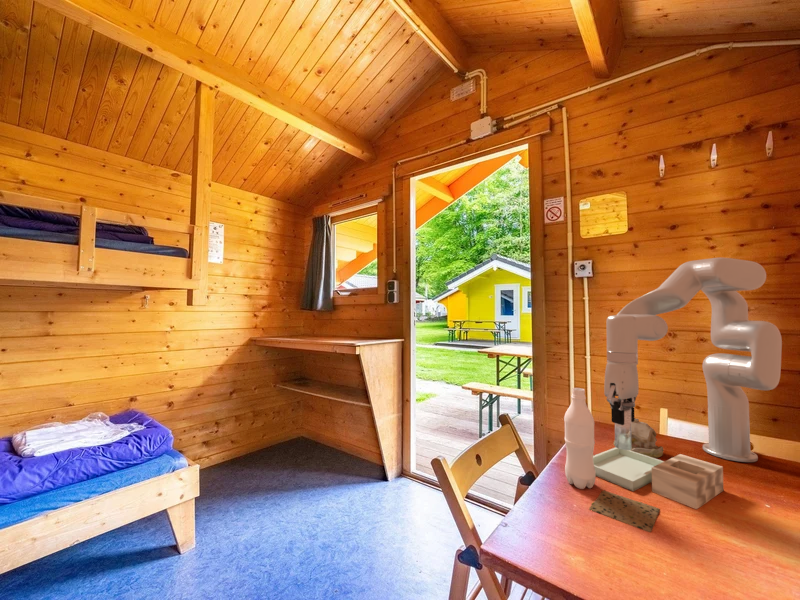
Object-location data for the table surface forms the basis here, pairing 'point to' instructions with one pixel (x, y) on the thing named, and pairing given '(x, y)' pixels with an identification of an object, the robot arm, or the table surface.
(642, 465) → the tray
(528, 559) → the table surface
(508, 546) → the table surface
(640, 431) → the ceramic model
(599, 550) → the table surface
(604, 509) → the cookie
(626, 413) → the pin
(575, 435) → the water bottle
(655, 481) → the block
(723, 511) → the table surface
